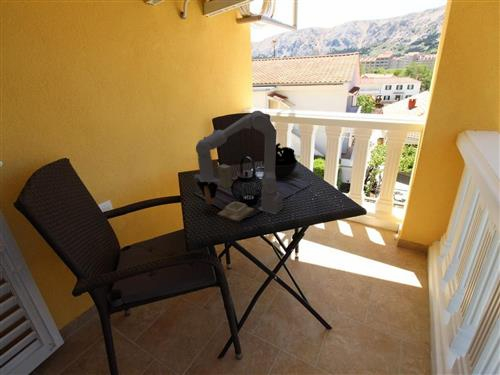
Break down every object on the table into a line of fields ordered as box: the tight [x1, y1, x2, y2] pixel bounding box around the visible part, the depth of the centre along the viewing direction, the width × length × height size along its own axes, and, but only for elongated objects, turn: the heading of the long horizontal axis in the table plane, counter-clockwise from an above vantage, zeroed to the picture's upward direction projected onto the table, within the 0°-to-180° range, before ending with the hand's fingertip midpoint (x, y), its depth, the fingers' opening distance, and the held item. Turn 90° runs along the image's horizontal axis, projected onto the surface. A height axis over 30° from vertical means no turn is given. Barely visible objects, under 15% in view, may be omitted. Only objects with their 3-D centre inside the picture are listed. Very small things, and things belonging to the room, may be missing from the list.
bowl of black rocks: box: [262, 142, 298, 178], centre depth 155 cm, size 20×20×19 cm
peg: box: [204, 185, 216, 205], centre depth 118 cm, size 4×4×8 cm
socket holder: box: [217, 201, 255, 222], centre depth 120 cm, size 12×12×3 cm
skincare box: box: [217, 163, 233, 189], centre depth 147 cm, size 6×4×12 cm
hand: (209, 196), depth 118 cm, fingers closed on peg, 4 cm apart
